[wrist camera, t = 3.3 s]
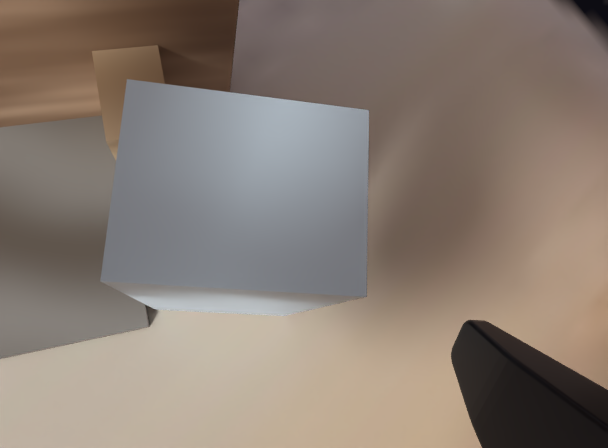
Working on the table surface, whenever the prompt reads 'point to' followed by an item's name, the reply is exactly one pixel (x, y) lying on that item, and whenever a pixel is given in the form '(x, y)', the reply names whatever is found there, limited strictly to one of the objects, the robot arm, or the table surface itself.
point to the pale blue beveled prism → (237, 202)
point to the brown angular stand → (82, 148)
